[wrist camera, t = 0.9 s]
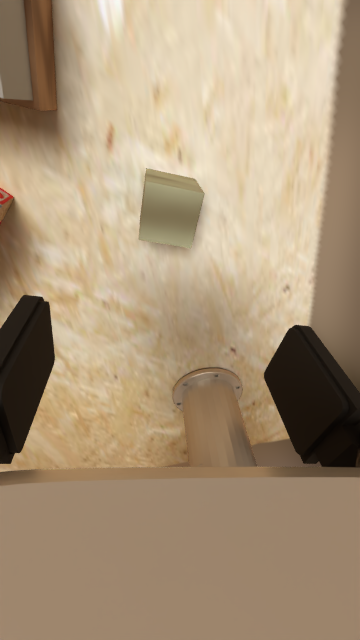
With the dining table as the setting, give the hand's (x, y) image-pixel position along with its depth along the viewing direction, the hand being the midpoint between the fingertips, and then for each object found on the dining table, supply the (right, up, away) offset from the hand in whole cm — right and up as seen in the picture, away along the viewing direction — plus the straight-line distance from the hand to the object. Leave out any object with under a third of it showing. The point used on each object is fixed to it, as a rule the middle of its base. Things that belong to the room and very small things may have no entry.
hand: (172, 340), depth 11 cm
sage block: (-1, +14, +18) cm, 23 cm away
